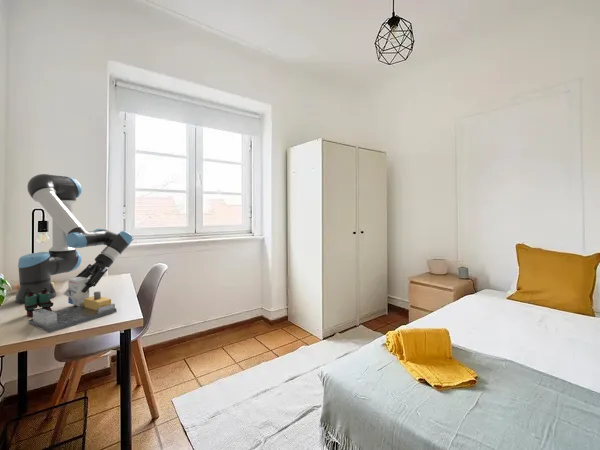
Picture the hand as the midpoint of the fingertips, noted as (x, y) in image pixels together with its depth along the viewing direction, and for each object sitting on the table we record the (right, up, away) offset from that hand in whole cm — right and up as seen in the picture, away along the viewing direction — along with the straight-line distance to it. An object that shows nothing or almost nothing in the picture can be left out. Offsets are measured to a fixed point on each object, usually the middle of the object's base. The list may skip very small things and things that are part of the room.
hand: (70, 296), depth 127 cm
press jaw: (+15, -4, -3) cm, 16 cm away
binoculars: (-8, -6, -7) cm, 12 cm away
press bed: (+11, -6, -11) cm, 17 cm away
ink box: (+2, -4, +3) cm, 5 cm away
